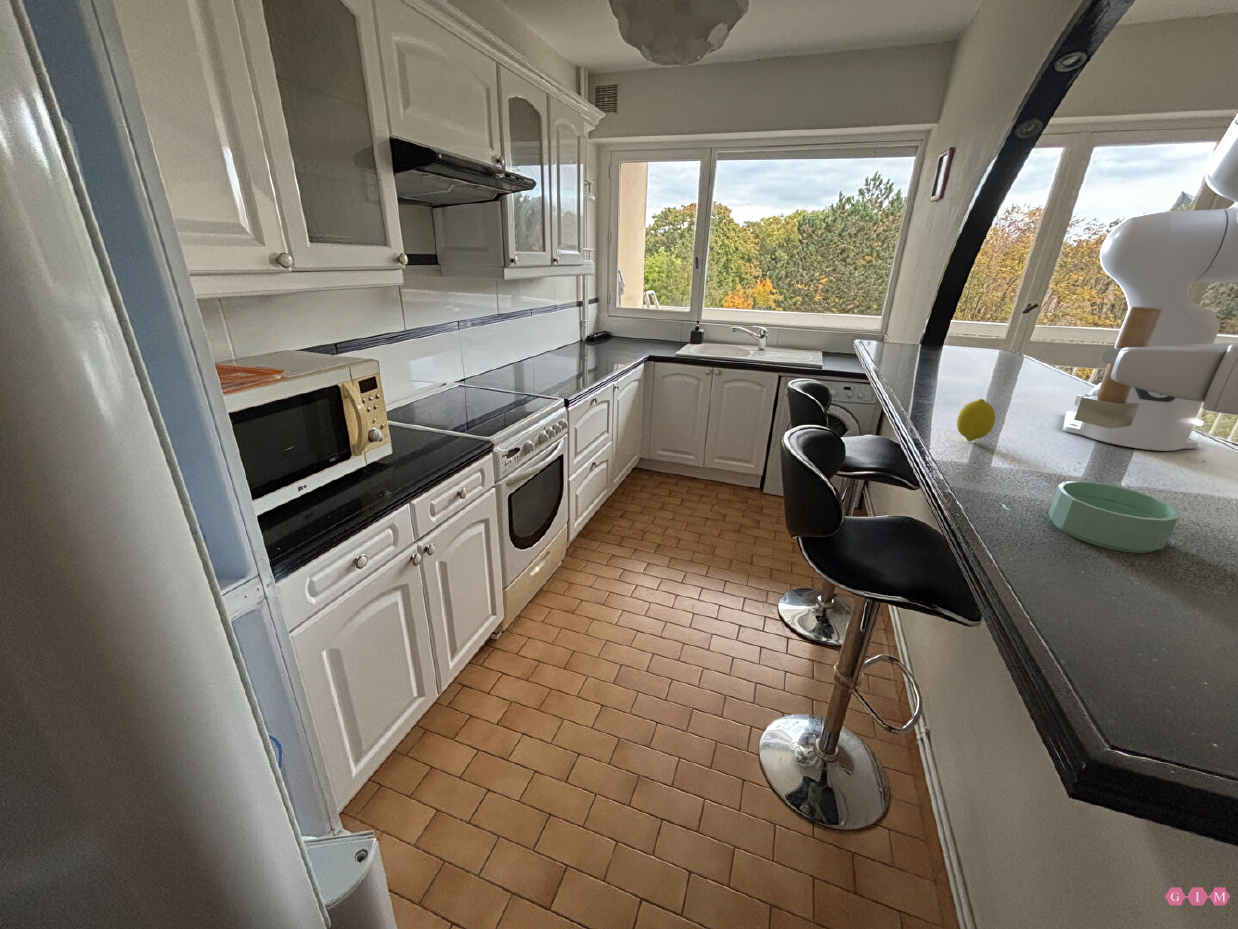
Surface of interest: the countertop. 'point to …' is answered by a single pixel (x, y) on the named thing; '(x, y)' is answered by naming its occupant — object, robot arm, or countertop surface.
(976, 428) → the lemon
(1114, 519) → the bowl
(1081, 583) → the countertop surface
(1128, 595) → the countertop surface
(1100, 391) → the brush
